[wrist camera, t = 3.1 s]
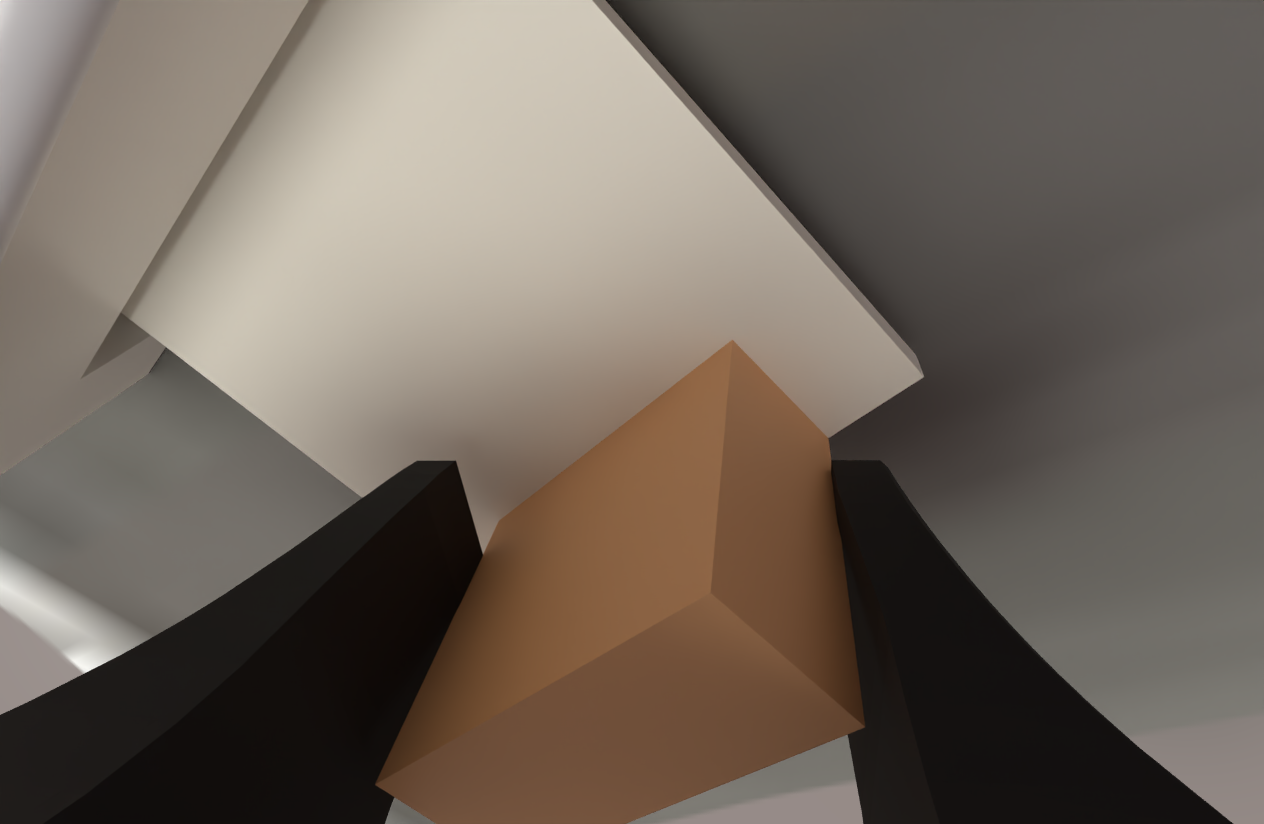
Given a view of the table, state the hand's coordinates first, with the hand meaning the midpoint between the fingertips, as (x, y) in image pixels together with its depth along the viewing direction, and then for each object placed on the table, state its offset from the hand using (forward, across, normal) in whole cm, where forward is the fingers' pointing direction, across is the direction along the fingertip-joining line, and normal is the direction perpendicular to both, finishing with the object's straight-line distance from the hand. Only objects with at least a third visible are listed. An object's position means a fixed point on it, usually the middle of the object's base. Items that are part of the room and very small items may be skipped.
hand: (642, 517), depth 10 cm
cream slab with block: (+1, +4, -5) cm, 6 cm away
